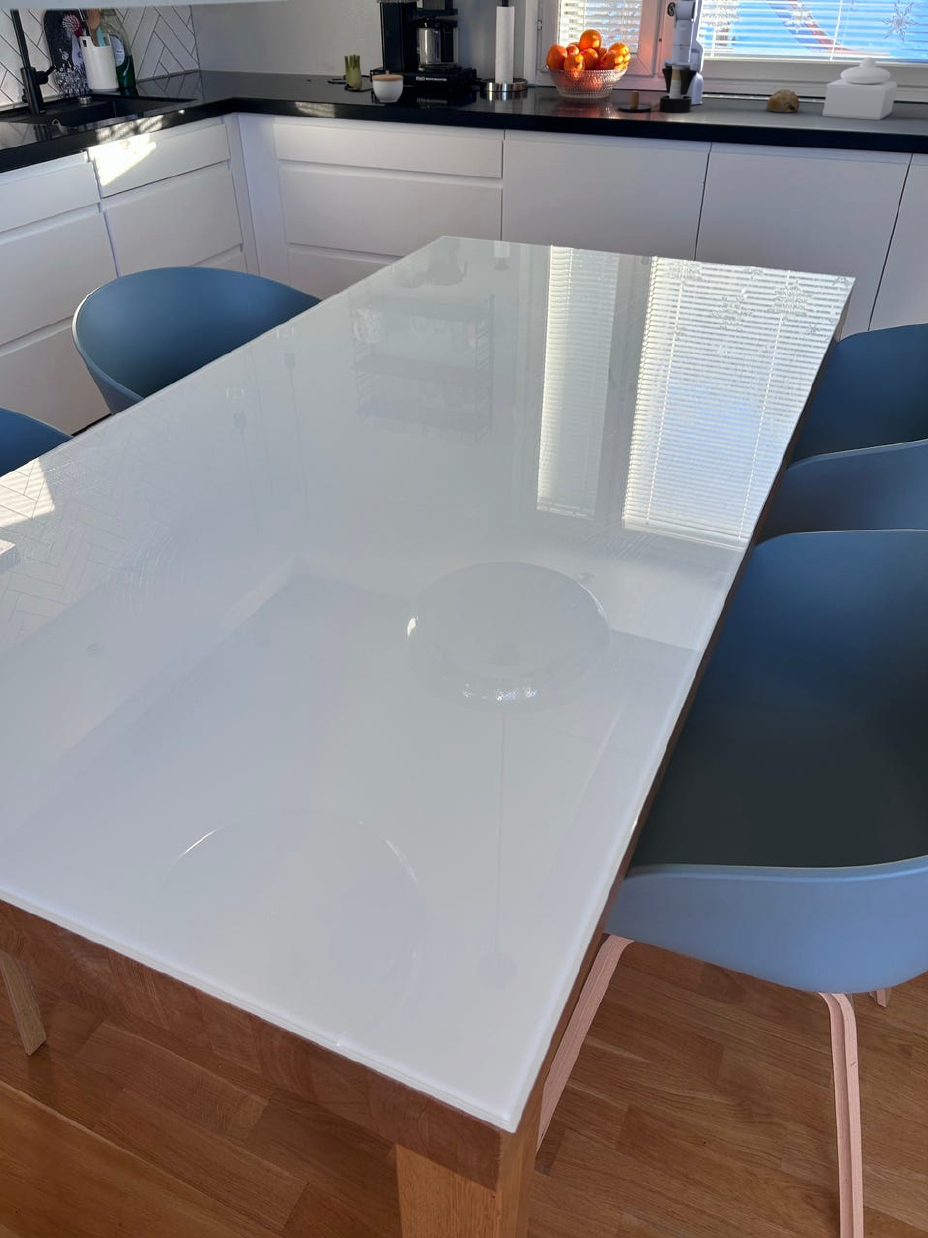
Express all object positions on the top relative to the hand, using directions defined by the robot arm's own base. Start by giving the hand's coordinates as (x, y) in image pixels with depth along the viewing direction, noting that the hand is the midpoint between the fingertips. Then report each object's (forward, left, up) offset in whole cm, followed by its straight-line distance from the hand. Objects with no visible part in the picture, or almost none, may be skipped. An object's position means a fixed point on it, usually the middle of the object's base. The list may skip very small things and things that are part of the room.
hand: (676, 93), depth 310 cm
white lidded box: (-43, +38, -5) cm, 58 cm away
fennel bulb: (+67, -107, -5) cm, 127 cm away
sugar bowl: (+70, -72, -5) cm, 101 cm away
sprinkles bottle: (0, 0, -5) cm, 5 cm away
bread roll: (-29, +19, -5) cm, 35 cm away
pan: (0, 0, -5) cm, 5 cm away
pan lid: (+11, -7, -4) cm, 14 cm away
